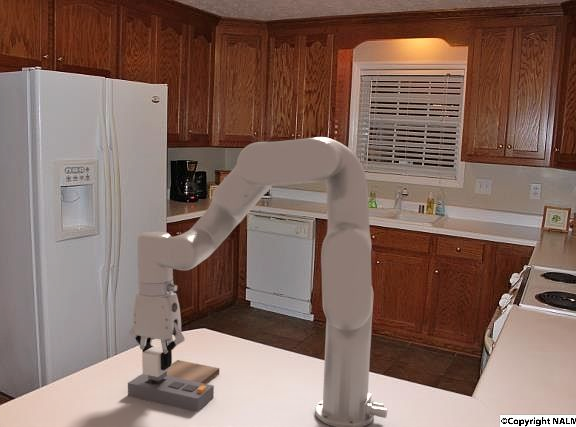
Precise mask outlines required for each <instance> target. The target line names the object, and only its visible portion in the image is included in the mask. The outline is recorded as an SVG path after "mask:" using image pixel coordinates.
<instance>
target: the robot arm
mask: <svg viewBox="0 0 576 427" xmlns="http://www.w3.org/2000/svg"><path fill="white" fill-rule="evenodd" d="M319 182H324V183H325V188H326V209H327V211H326V212H327V229H326V230H327V231H326V235H325V237H324V239H323V241H322V245H321V252H320V253H321V255H320V262H321V263H320V266H321V268H320V269H321V296H322V301H321V302H322V309H323V313H324V316H325V318H326V326H325V345H324V366H323V367H324V368H323V388H322V389H323V392H322V398H323V399H322V400H319V401H318V403H317V404H316V405H315V416H316V417H317V419H319V421H321V423H323V424H326V425H328V426H331V427H366V426H368V425H369V424H371V423H372V422H373V421H374V418H375V417H379V418H382V419H383V418H384V419H386V418H387V416H388V408H385V404H384V403H382V402H377V401H376V402H375V401H374V400H373V399H372V393H369V378H370V360H371V359H370V358H371V345H372V344H371V343H372V322H373V307H374V289H373V285H372V238H371V233H370V232H371V231H370V210H369V208H370V207H369V192H368V181H367V175H366V172H365V170H364V167H363V165H362V163H361V161H360V158H358V157H357V155H356V154H355V153H354V152H353V150H351V149H350V148H349V147H348V146H347V145H344V144H343V143H342V142H339V141H338V140H335V139H332V138H329V137H327V136H326V137H325V136H316V137H307V138H298V139H297V138H296V139H287V140H279V141H257V142H252V143H250V144H248V145H246V146H244V148H243V149H242V150H241V151H240V152H239V155H238V157H237V161H236V165H235V166H234V167H233V169H231V171H230V172H229V173H228V174H227V175H226V177H225V178H224V179H223V180H222V181H221V183H219V184H218V185H217V187H216V188H215V189H214V191H213V192H212V197H211V203H210V205H209V206H208V208H207V210H205V212H204V213H203V214H202V216H201V217H200V218H199V219H198V220H197V221H196V222H195V224H193V226H192V227H191V228H190V229H189V230H188V231H185V232H183V233H181V234H178V235H175V236H172V235H171V234H170V233H169V232H166V231H160V230H159V231H157V230H156V231H145V232H142V233H140V234H139V235H138V236H137V237H138V238H137V240H136V241H137V243H136V244H137V249H136V250H137V252H136V253H137V286H138V288H137V290H138V291H137V293H136V294H135V299H134V300H135V301H134V306H133V324H132V326H131V328H130V330H129V334H130V335H131V337H133V338H134V339H135V340H136V342H137V343H138V345H139V348H140V350H142V351H141V352H142V353H143V352H144V351H146V350H148V349H149V348H151V347H153V346H154V345H152V342H153V340H159V341H160V343H161V344H160V345H162V350H163V353H161V370H166V369H167V368H169V367H170V366H171V363H172V362H173V358H172V356H173V354H172V351H173V350H174V349H175V348H176V347H177V346H178V345H180V344H181V343H184V342H185V340H186V339H185V336H184V335H183V333H182V318H181V317H182V316H181V308H180V307H181V306H180V303H179V299H178V298H179V297H178V295H177V293H176V292H177V291H178V285H177V284H174V275H173V274H174V270H177V271H178V270H179V271H190V270H191V269H194V268H195V267H196V266H198V265H200V264H201V263H202V262H203V261H206V259H208V258H209V257H210V256H211V255H212V254H213V253H214V252H215V251H216V250H217V249H218V248H219V246H220V245H221V244H222V243H223V242H224V241H225V240H226V239H227V238H228V236H229V235H230V234H231V233H232V232H233V230H234V229H235V228H236V227H237V226H238V225H239V224H240V223H241V222H242V221H243V220H244V219H245V217H246V216H247V215H248V214H249V213H250V212H251V210H252V209H253V208H254V207H255V206H256V205H257V203H258V202H259V201H260V200H261V199H262V198H263V197H264V195H265V194H267V192H268V191H270V190H271V188H272V187H273V186H283V185H285V186H287V185H299V184H309V183H319ZM173 336H174V338H173Z"/></svg>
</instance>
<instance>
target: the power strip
mask: <svg viewBox="0 0 576 427" xmlns="http://www.w3.org/2000/svg"><path fill="white" fill-rule="evenodd" d="M214 386H215V385H212V384H209V383H207V384H204V383H199V382H194V381H190V380H185V379H180V378H175V377H171V376H166V377H164V378H163V379H161V380H160V381H157V380H152V379H148V375H144V374H143V373H141V374H140V375H138V376H136V377H134V378H133V379H131V380H130V381H129V382H127V396H128V397H132V398H137V399H140V400H145V401H150V402H154V403H158V404H163V405H167V406H170V407H176V408H178V409H183V410H189V411H193V412H196V413H198V412H199V411H200V410H202V409H203V408H204V407H205V406H207V405H208V404H209V403H210V402H211V401H212V400H213V399H214V394H215V392H214V389H215V387H214Z"/></svg>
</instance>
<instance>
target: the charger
mask: <svg viewBox="0 0 576 427" xmlns="http://www.w3.org/2000/svg"><path fill="white" fill-rule="evenodd" d="M152 346H153V347H151V348H149V349H148V350H146V351H144V352H142V354H141V356H142V358H141V359H142V360H141V361H142V365H141V366H142V374H144V375H148V379H152V380H157V381H160V380H161V379H163V378H164V377H166V376H167V371H168V370H169V369H171V368H172V363H171V366H170V367H169V368H167V369H166V370H161V353H163V350H162V344H155V345H152Z"/></svg>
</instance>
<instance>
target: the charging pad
mask: <svg viewBox="0 0 576 427" xmlns="http://www.w3.org/2000/svg"><path fill="white" fill-rule="evenodd" d="M219 375H220V367H215V366H210V365H207V364H206V365H205V364H198V363H195V362H190V361H184V360H180V359H178V360H175V361H173V363H172V368H171V369H169V370H168V371H167V376H171V377H175V378H180V379H185V380H190V381H194V382H199V383H204V384H209V383H210V382H212V380H214V379H215V378H216V377H217V376H219Z"/></svg>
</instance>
